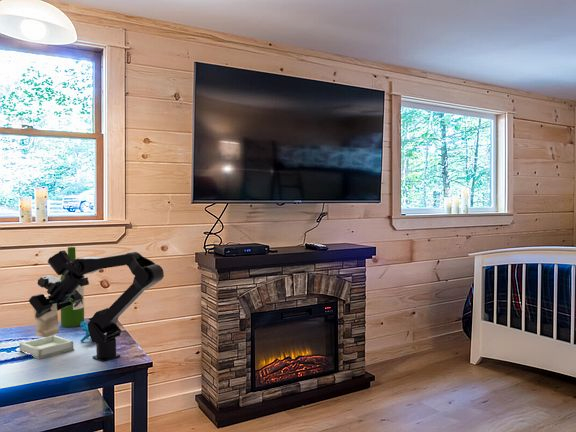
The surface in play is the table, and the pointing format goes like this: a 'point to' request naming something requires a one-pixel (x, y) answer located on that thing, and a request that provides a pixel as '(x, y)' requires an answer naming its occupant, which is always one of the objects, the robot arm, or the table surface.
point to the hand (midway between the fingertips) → (42, 315)
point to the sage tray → (46, 346)
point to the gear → (85, 328)
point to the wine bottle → (75, 311)
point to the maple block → (47, 323)
